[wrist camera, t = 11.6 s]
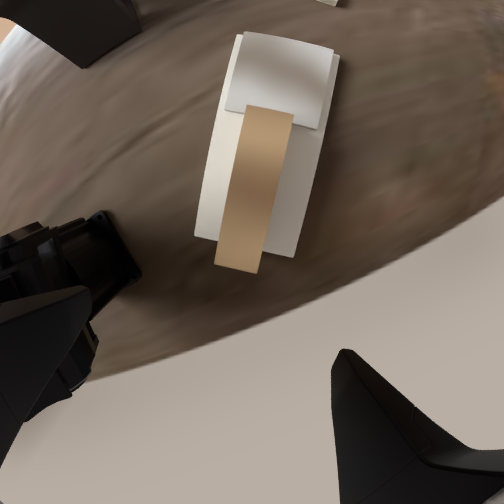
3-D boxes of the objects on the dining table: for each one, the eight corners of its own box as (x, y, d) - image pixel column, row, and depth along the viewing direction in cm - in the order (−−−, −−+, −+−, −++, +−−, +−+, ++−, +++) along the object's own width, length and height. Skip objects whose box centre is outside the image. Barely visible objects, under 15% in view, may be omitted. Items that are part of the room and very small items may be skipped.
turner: (283, 256, 20) (286, 280, 16) (201, 238, 20) (184, 257, 16) (331, 53, 15) (344, 31, 11) (245, 35, 15) (239, 9, 11)
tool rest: (292, 255, 20) (293, 257, 20) (196, 233, 20) (194, 235, 20) (338, 58, 15) (339, 55, 15) (238, 37, 15) (237, 34, 15)
